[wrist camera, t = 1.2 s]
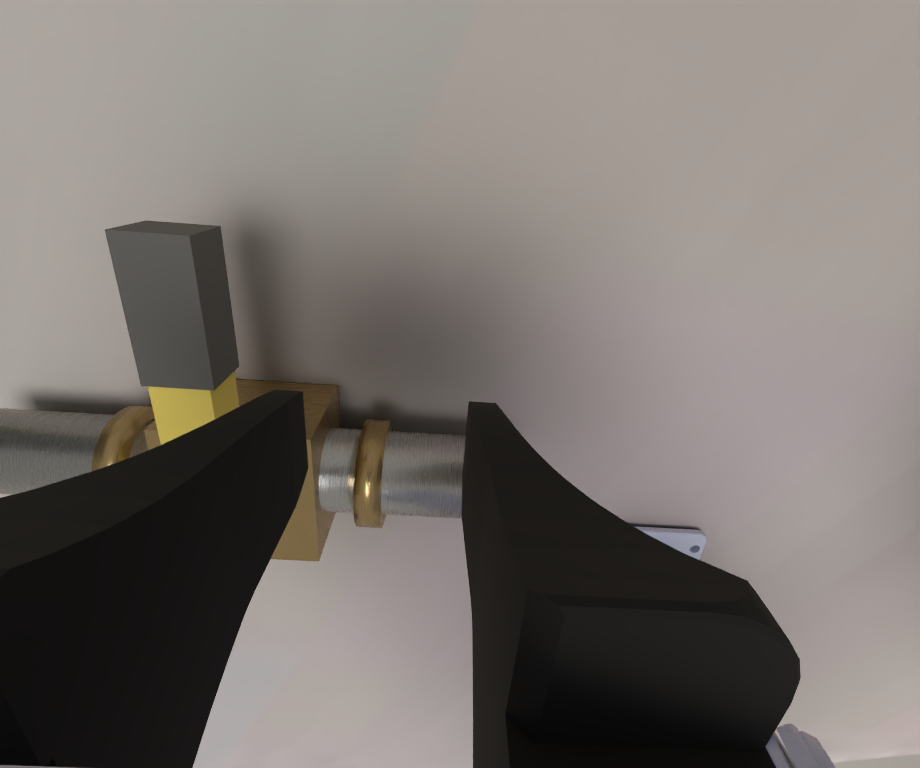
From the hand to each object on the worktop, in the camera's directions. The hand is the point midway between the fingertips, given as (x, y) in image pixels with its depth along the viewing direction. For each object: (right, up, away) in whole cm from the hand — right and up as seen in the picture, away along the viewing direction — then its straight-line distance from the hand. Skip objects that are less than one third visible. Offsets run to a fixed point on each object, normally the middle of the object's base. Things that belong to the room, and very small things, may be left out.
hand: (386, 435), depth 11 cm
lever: (-7, +1, +6) cm, 9 cm away
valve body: (-7, -1, +12) cm, 14 cm away
